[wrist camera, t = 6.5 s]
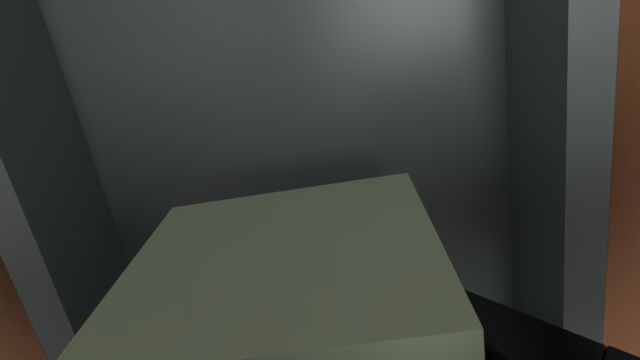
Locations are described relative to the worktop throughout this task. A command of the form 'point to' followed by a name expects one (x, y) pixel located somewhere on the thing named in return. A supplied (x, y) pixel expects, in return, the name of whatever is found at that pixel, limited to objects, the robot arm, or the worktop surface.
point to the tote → (308, 133)
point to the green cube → (289, 283)
